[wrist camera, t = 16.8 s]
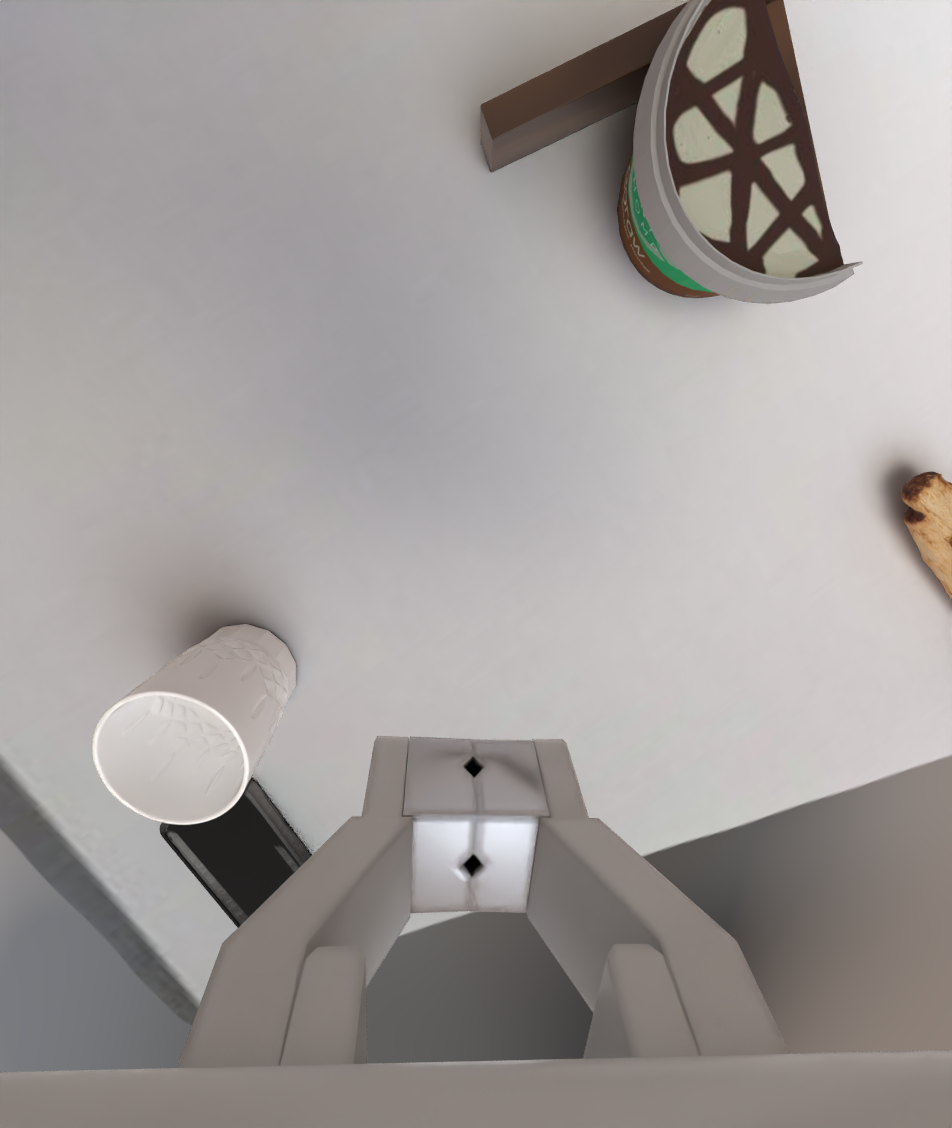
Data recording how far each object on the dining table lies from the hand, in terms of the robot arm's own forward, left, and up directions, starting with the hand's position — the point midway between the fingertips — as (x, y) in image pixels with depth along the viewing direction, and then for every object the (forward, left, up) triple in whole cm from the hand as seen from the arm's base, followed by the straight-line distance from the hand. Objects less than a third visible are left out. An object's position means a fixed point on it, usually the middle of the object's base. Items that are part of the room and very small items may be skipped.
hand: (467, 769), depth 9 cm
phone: (+20, -26, -27) cm, 42 cm away
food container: (-9, +14, -27) cm, 32 cm away
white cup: (+5, -19, -27) cm, 33 cm away
